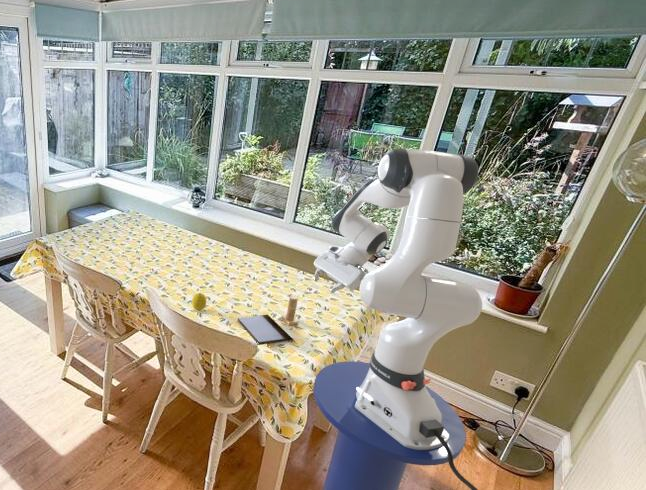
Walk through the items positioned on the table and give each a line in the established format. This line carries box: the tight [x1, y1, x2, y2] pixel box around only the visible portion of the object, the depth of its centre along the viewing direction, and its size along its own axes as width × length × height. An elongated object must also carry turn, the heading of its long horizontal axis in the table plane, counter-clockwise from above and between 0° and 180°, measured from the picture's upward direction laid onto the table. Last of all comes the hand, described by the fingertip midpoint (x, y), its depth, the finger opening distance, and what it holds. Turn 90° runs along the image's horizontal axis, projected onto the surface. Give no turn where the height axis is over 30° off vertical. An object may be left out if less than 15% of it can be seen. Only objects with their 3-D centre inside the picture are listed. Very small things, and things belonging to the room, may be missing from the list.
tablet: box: [237, 314, 295, 346], centre depth 153 cm, size 16×20×1 cm
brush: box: [280, 294, 299, 327], centre depth 152 cm, size 5×4×12 cm
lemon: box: [191, 292, 207, 311], centre depth 162 cm, size 6×6×8 cm
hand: (321, 285), depth 151 cm, fingers open, 8 cm apart
